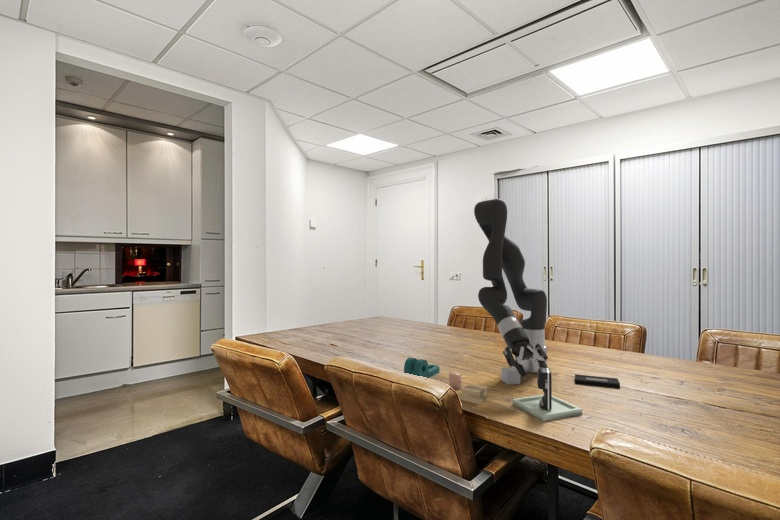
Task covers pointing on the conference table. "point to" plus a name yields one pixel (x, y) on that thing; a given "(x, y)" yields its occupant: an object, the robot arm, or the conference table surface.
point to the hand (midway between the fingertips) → (536, 375)
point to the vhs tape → (597, 381)
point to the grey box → (510, 375)
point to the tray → (533, 407)
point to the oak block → (474, 393)
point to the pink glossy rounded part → (455, 380)
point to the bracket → (420, 367)
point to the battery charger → (545, 387)
